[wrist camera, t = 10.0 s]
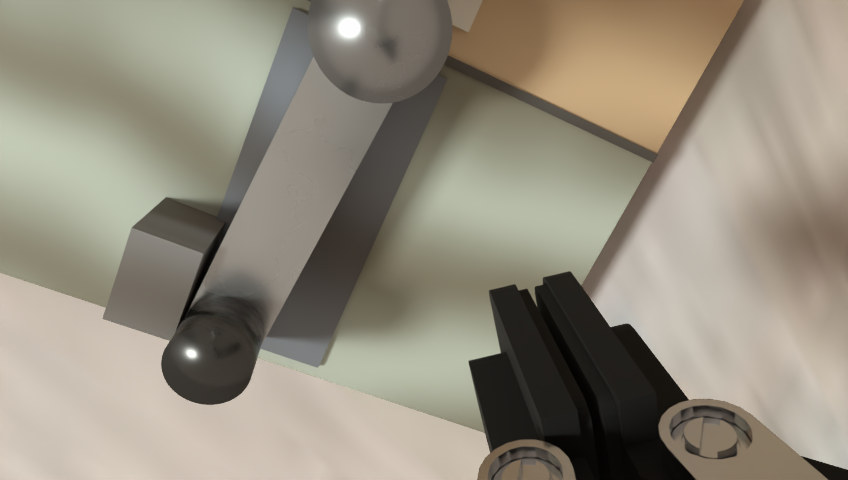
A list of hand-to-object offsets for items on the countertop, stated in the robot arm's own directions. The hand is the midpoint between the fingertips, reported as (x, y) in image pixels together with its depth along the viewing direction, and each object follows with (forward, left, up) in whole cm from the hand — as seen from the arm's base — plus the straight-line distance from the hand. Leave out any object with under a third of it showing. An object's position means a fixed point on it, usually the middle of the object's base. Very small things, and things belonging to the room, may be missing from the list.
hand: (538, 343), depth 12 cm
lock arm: (+1, -6, -9) cm, 10 cm away
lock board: (-3, -5, -10) cm, 12 cm away
